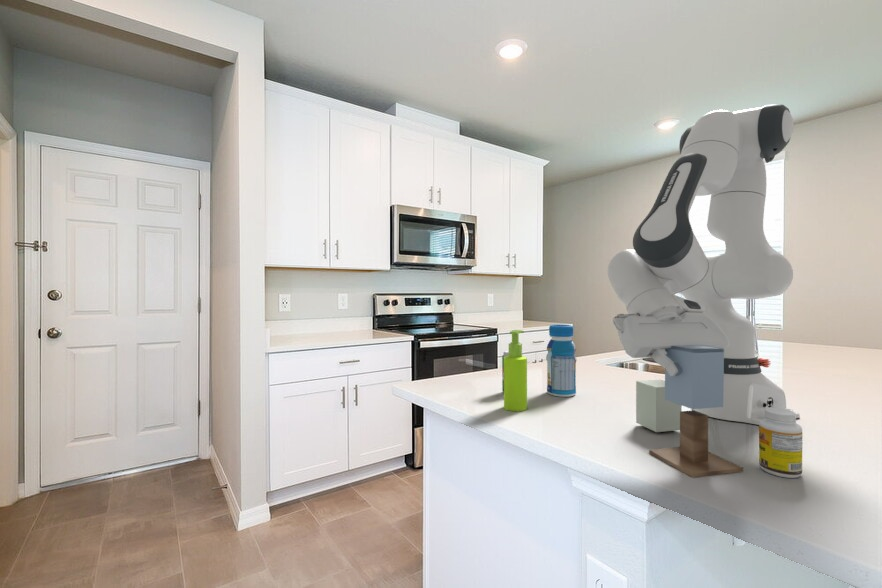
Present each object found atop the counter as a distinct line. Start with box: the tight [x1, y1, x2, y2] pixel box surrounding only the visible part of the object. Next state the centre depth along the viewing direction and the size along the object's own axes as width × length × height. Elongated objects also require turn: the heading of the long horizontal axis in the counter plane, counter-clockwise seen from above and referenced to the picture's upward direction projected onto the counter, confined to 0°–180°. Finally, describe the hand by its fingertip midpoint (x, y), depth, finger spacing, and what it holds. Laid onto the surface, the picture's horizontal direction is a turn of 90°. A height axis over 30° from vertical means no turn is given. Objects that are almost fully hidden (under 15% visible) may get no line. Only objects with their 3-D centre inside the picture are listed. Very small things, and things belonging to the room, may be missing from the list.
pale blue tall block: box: [664, 345, 724, 410], centre depth 72 cm, size 6×6×10 cm
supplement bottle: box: [758, 408, 803, 479], centre depth 68 cm, size 6×6×10 cm
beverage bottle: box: [545, 324, 577, 398], centre depth 119 cm, size 8×8×20 cm
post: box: [648, 409, 744, 478], centre depth 72 cm, size 10×10×9 cm
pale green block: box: [635, 379, 683, 433], centre depth 89 cm, size 6×6×10 cm
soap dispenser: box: [503, 329, 528, 412], centre depth 106 cm, size 6×7×20 cm
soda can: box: [501, 351, 509, 394], centre depth 120 cm, size 5×5×12 cm
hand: (696, 373), depth 71 cm, fingers closed on pale blue tall block, 6 cm apart
